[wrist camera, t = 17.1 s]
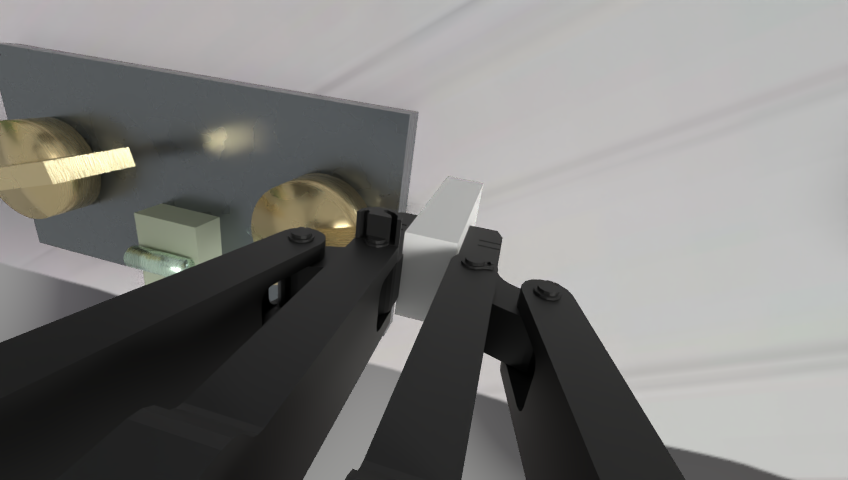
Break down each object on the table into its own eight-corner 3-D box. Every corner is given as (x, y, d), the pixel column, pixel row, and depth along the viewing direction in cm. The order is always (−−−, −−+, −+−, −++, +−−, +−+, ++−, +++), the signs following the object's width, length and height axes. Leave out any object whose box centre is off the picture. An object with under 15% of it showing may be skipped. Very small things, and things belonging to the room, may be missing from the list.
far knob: (50, 210, 34) (-81, 246, 27) (10, 123, 32) (-146, 136, 24) (186, 197, 30) (76, 235, 23) (152, 97, 28) (16, 103, 20)
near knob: (292, 271, 30) (215, 332, 23) (266, 177, 28) (172, 212, 20) (483, 266, 26) (463, 337, 19) (472, 156, 24) (445, 190, 17)
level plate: (63, 234, 38) (-16, 260, 32) (19, 44, 31) (-88, 36, 26) (392, 321, 32) (363, 370, 27) (418, 112, 26) (388, 120, 21)
